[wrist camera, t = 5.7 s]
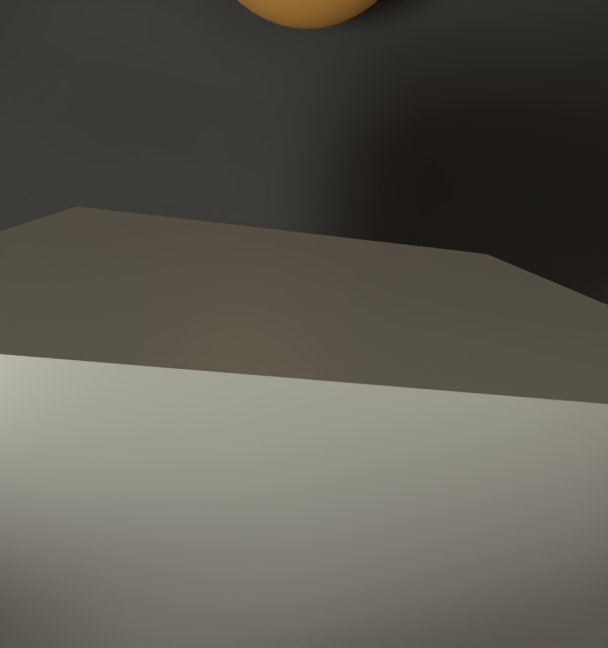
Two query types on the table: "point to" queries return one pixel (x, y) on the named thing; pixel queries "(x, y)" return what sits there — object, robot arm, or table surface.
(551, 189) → the table surface
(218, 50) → the table surface
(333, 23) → the ball
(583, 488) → the pale grey carton
